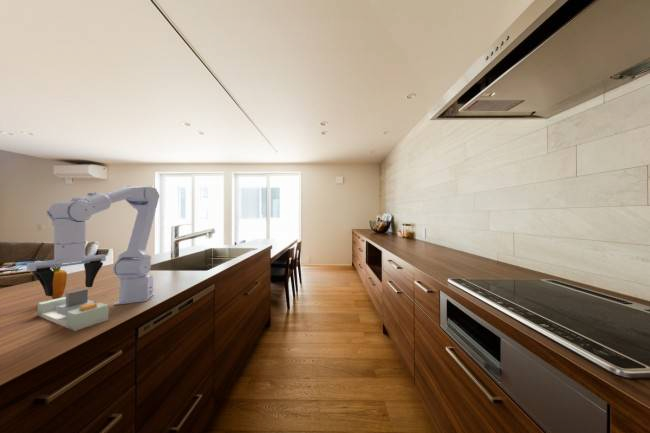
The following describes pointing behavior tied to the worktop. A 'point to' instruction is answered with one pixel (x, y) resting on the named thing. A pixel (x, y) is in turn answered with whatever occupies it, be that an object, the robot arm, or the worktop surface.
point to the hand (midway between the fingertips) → (70, 290)
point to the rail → (72, 314)
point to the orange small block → (88, 306)
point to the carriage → (74, 301)
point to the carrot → (58, 282)
